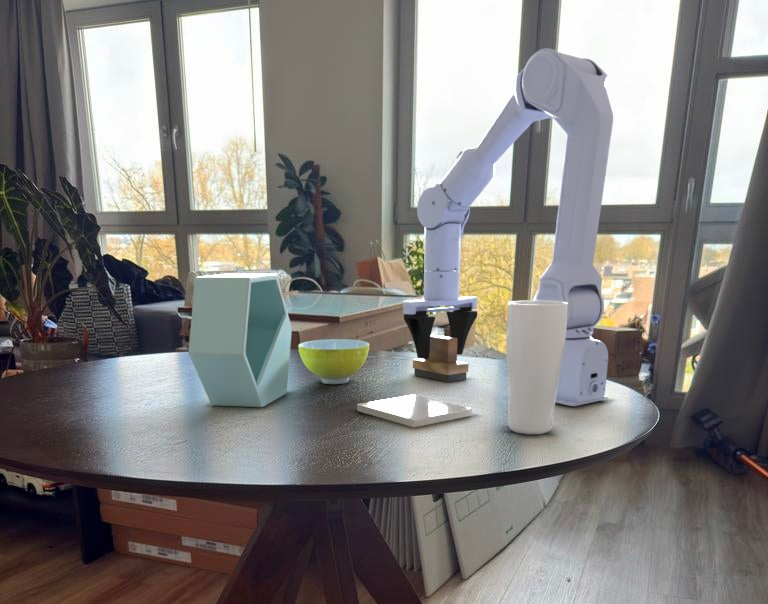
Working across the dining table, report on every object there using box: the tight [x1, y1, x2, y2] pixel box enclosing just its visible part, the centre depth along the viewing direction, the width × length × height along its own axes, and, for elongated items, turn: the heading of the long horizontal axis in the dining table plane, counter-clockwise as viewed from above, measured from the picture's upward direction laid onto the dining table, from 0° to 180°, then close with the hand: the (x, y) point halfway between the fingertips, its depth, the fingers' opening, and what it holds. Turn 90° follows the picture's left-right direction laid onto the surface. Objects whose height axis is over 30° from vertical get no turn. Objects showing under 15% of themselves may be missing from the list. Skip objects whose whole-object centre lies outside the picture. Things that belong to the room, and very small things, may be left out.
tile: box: [356, 394, 473, 428], centre depth 97 cm, size 12×10×1 cm
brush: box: [412, 334, 469, 383], centre depth 121 cm, size 9×4×7 cm, turn 38°
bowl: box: [298, 338, 370, 385], centre depth 118 cm, size 11×12×6 cm
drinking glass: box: [505, 299, 568, 435], centre depth 85 cm, size 7×7×15 cm
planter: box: [188, 273, 293, 408], centre depth 102 cm, size 17×8×21 cm
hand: (440, 356), depth 121 cm, fingers open, 7 cm apart
